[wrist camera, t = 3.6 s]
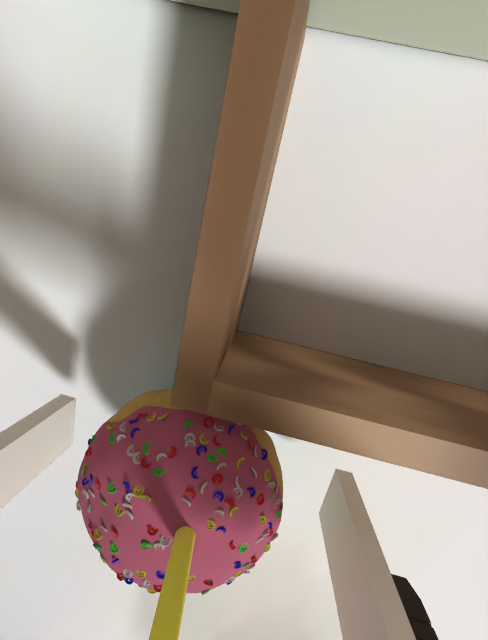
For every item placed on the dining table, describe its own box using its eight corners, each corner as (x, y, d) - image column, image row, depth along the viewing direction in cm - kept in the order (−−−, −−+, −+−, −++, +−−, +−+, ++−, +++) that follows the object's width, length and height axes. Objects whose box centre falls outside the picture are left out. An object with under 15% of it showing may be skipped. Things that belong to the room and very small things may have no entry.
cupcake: (217, 325, 14) (-88, 694, 2) (309, 438, 15) (478, 1141, 3) (111, 407, 15) (-387, 861, 4) (199, 503, 16) (29, 1103, 5)
